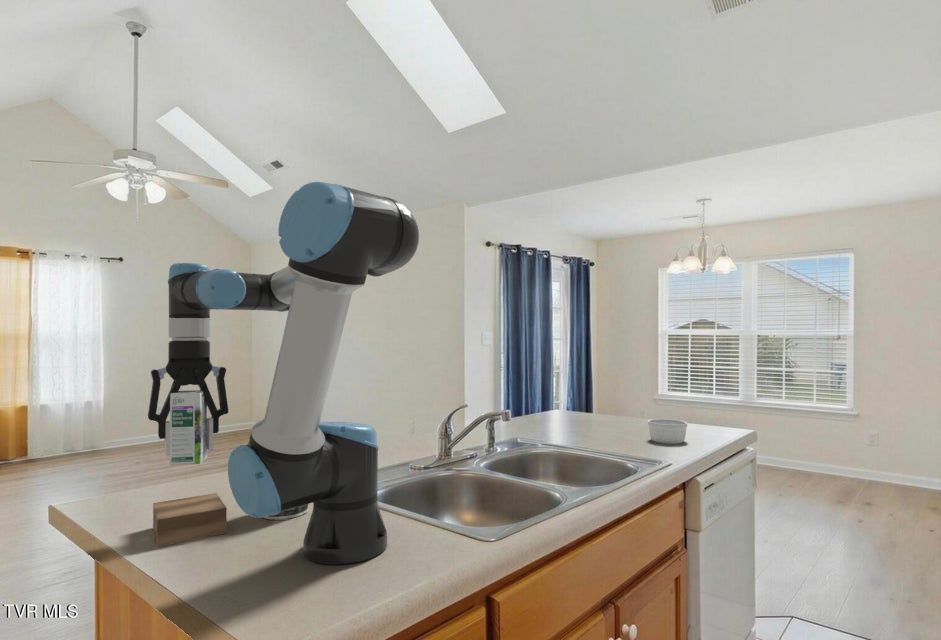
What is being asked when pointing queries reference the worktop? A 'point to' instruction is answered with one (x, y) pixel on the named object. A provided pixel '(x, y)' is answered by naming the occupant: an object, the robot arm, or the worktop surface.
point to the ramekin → (667, 430)
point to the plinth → (188, 519)
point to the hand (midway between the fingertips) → (189, 451)
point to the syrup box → (188, 427)
